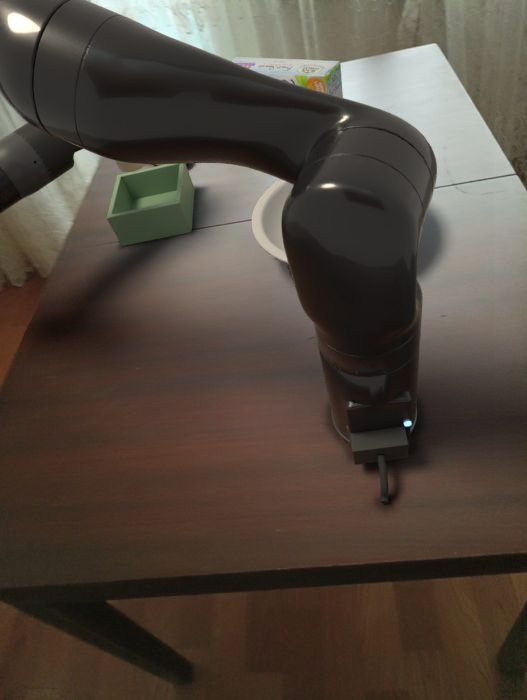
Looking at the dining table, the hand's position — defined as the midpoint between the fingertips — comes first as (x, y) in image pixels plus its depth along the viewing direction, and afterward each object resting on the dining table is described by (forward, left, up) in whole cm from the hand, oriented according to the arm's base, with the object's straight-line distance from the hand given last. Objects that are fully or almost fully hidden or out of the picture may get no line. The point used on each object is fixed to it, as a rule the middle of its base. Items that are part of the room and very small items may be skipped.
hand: (122, 99), depth 74 cm
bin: (-1, +2, -20) cm, 20 cm away
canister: (-2, +2, -9) cm, 9 cm away
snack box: (+12, -23, -20) cm, 33 cm away
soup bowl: (-17, -28, -20) cm, 39 cm away
